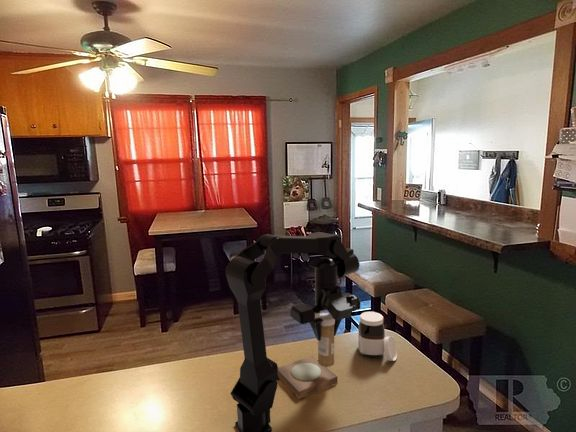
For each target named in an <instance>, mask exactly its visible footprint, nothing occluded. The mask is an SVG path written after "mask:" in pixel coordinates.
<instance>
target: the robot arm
mask: <svg viewBox="0 0 576 432" xmlns="http://www.w3.org/2000/svg"><path fill="white" fill-rule="evenodd" d="M281 254H283V255H284V254H316V255H319V256H323V257H317V256H315V257H314V259H312V260H311V261H310V262H309V264H308V266H309V267H311V268H314V282H313V283H311V285H312V288H313V289H314V297H313V298H312V299H311V300H312V301H311V302H312V303H313V304H314V305H312V306H309V305H307V304H306V303H305V302H303V303H299V304H295V305H292V306H291V307H290V309H289V316H290V317H291V318H292V319H293V320H295V321H296V322H297V323H298V324H301V325H305V324H309V325H310V327H311V329H312V332H313V333H314V335H315V339H316V340H317V342H318V341H320V338H321V323H322V321H323V319H321V318H320V314H321V313H325V312H327V313H330V314H331V315H332V317H333V319H335V324H334V337H335V336H336V334H337V332H338V329H339V327H340V324H341V322H342V320H344V319H349V318H350V317H351V314H352V312H357V310H360V309H361V303H362V302H361V300H360V298H359V297H357V296H356V295H354V294H352V293H350V292H345V293H342V288H341V286H340V285H338V278H343V277H346V276H348V275H351V274H355V273H357V272H358V271H359V269H360V266H361V265H360V261H359V257H357V255H355V253H354V249H352V248H349V247H348V248H345V246H344V244H343V242H342V240H341V236H339V235H336V234H332V233H327V232H321V231H316V232H312V233H310V234H308V235H277V234H275V235H272V234H269V233H266V234H262V235H261V236H260V237H258V238H257V240H256V241H255V242H254V243H252V244H250V245H248V246H247V247H245V248H244V249H243V248H242V250H241V251H239V253H238V254H236V256H235V257H232V259H230V261H229V262H228V264H226V267H225V277H226V280H227V283H228V287H229V288H230V290H231V292H232V293H233V296H234V297H235V299H236V302H237V308H238V315H239V324H240V332H241V339H242V348H243V355H244V360H243V361H242V363H241V366H240V368H239V378H238V380H237V381H236V382H235V384H234V386H233V388H232V389H231V392H230V396H231V398H232V399H233V400H234V401H235V402H237V403H236V410H237V411H236V412H237V413H236V414H237V421H235V422H234V425H235V428H236V429H237V431H238V432H272V431H273V427H272V426H271V425H270V424H271V409H272V408H273V406H274V402H275V401H274V400H275V396H276V392H277V389H278V384H279V383H278V381H280V378H279V377H278V367H279V366H278V364H277V362H275V361H274V360H272V359H270V358H269V357H268V356H267V355H268V354H267V347H266V338H265V330H264V319H263V311H262V301H261V299H262V296H263V294H264V292H265V290H266V287H267V284H266V283H267V277H268V276H270V274H271V273H272V272H273V270H274V268H275V266H276V262H277V258H279V256H280V255H281ZM263 255H264V256H263ZM261 256H263V258H262V259H261V260H260V261H259V262H258V261H255V260H257V259H258V258H260V257H261Z"/></svg>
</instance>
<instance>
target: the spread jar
mask: <svg viewBox="0 0 576 432" xmlns="http://www.w3.org/2000/svg"><path fill="white" fill-rule="evenodd" d="M359 316H360V317H359V322H358V328H357V329H358V335H357V336H358V341H357V342H358V343H357V344H358V345H357V346H358V347H357V348H358V352H359V354H360V355H362V356H363V357H365V358H369V359H377V358H378V359H379V358H380V357H382V356H384V355H385V357H386V360H388V361H390V362H394V361H396V360H397V358H398V347H397V346H398V345H397V342H396V340H395V338H394V337H393V336H392V335H391V336H390V335H389V336H386V331H385V329H386V328H385V325H384V316H383V315H382V314H381V313H379V312H376V311H364V312H362V313H361V314H360V315H359Z"/></svg>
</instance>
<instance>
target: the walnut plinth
mask: <svg viewBox="0 0 576 432" xmlns="http://www.w3.org/2000/svg"><path fill="white" fill-rule="evenodd" d="M278 377H279V380H281V381H282V382H283V383H284V384H285V386H287V388H288V389H289V390H290V391H291V392H292V393H293V394H294V395H295V396H296V397H297V398H298V399H299V400H300V399H302V398H303V399H304V398H305V397H308V396H310V395H312V394H315V393H317V392H320V391H322V390H324V389H327V388H330V387H331V386H333V385H337V384H338V375H336V374H335V373H334V372H333V371H332V370H330V369H329V367H323V366H321V365H319V364H318V358H316V357H315V356H314V355H309V356H308V357H304V358H301V359H299V360H296V361H293V362H291V363H287V364H284V365H281V366H278Z"/></svg>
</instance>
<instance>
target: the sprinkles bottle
mask: <svg viewBox="0 0 576 432" xmlns="http://www.w3.org/2000/svg"><path fill="white" fill-rule="evenodd" d="M320 318H321V319H323V321H322V323H321V338H320V341H318V340H317V352H318V353H317V354H318V355H317V356H318V357H317V360H318V364H319V365H321V366H323V367H327V368H331V367H332V366H334V364H335V362H336V361H335V336H334V324H335V319H333V317H332V315H331V314H330V313H329V312H320Z"/></svg>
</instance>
